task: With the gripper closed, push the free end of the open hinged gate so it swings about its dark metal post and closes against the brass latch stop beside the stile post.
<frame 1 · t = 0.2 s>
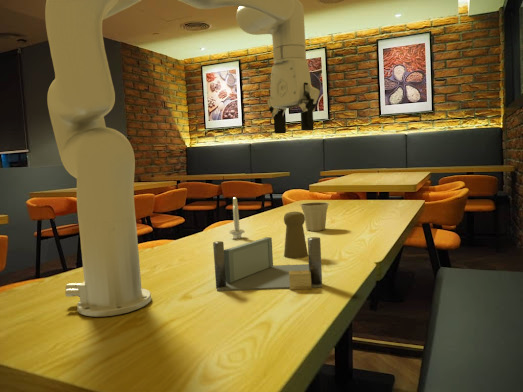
hand: (293, 131, 100), 30 cm above the table, tool pointing down, fingers open, 9 cm apart
screw: (237, 238, 133), on the table
mat: (270, 276, 88), on the table
cork: (296, 256, 106), on the table
gate: (249, 258, 90), point 4 cm above the table, hinge at 55.0°
stile: (315, 284, 82), on the table
hinge post: (221, 287, 83), on the table
flower pot: (315, 230, 140), on the table
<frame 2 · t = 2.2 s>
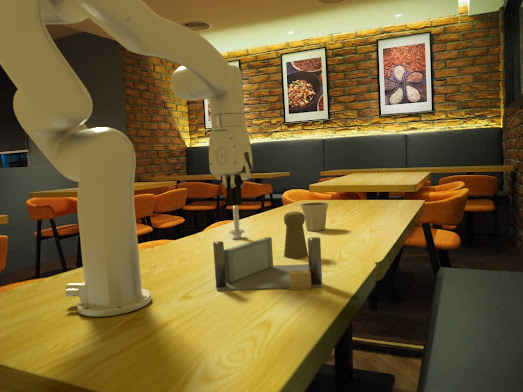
hand: (234, 204, 96), 15 cm above the table, tool pointing down, fingers closed
nothing on the table moved.
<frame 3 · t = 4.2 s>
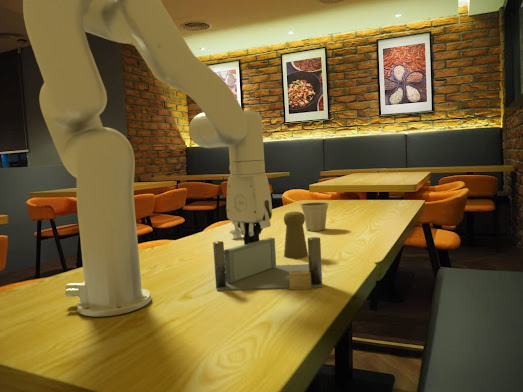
hand: (252, 252, 93), 4 cm above the table, tool pointing down, fingers closed
gate: (251, 258, 89), point 4 cm above the table, hinge at 51.8°, touching gripper
everything else where it was.
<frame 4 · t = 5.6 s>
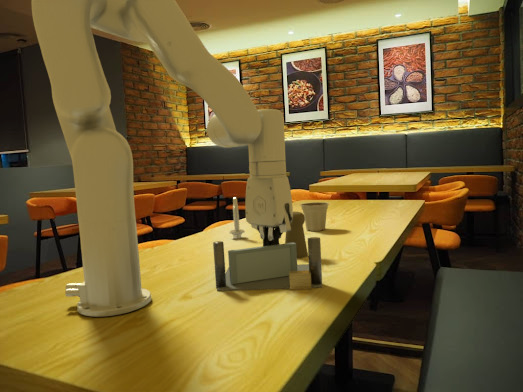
hand: (271, 257, 89), 4 cm above the table, tool pointing down, fingers closed
gate: (263, 262, 85), point 4 cm above the table, hinge at 22.0°, touching gripper
everything else where it was.
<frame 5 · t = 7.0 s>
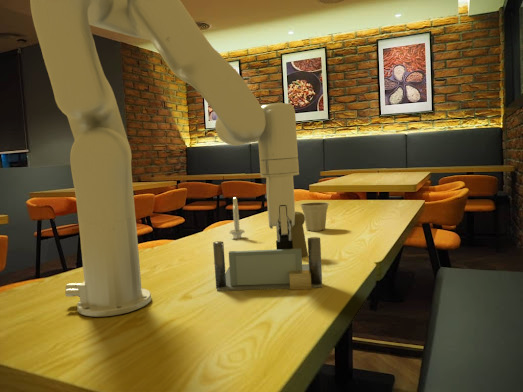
hand: (285, 260, 84), 4 cm above the table, tool pointing down, fingers closed
gate: (265, 267, 82), point 4 cm above the table, hinge at 0.0°, touching gripper, stile
everything else where it was.
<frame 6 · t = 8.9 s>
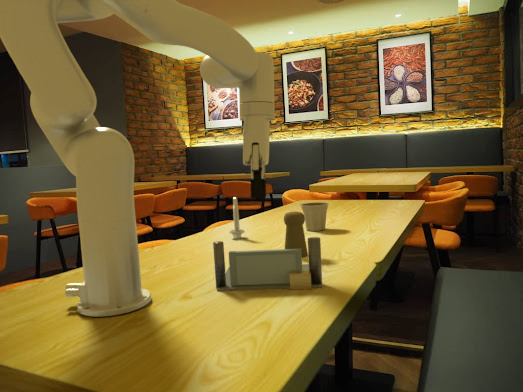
hand: (258, 197, 92), 16 cm above the table, tool pointing down, fingers closed
gate: (265, 267, 82), point 4 cm above the table, hinge at 0.0°, touching stile
everything else where it was.
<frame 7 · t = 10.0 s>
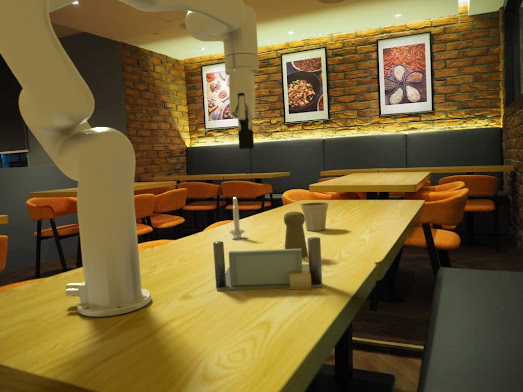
hand: (246, 148, 96), 27 cm above the table, tool pointing down, fingers closed
nothing on the table moved.
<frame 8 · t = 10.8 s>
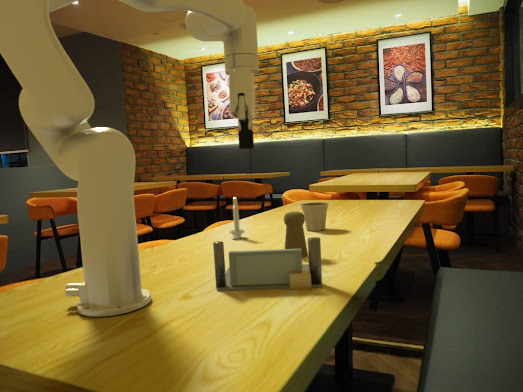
hand: (246, 148, 96), 27 cm above the table, tool pointing down, fingers closed
nothing on the table moved.
at the end: gate at +0° (first picture: +55°); gate touching stile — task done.
